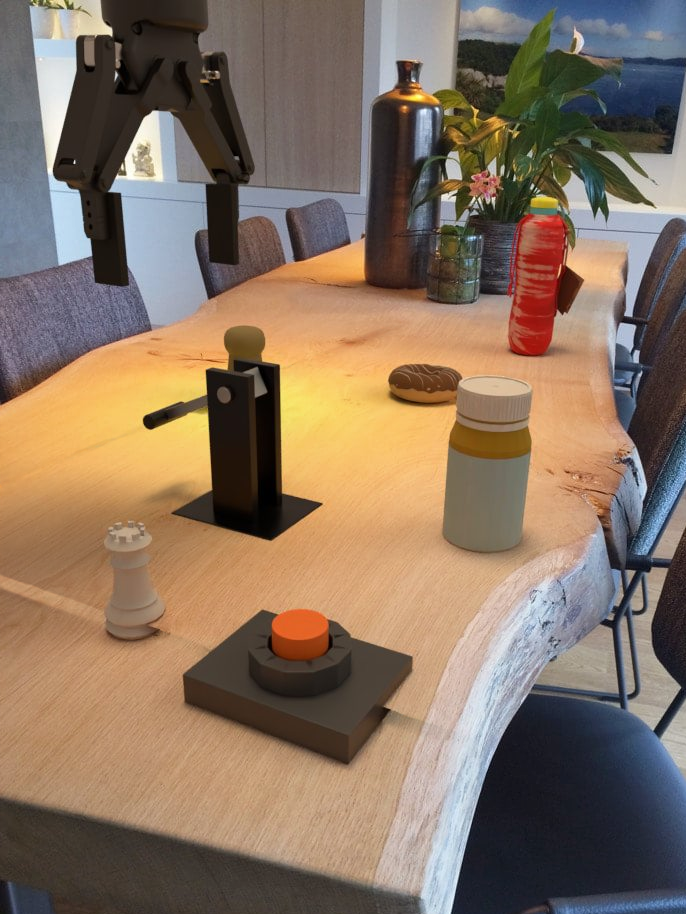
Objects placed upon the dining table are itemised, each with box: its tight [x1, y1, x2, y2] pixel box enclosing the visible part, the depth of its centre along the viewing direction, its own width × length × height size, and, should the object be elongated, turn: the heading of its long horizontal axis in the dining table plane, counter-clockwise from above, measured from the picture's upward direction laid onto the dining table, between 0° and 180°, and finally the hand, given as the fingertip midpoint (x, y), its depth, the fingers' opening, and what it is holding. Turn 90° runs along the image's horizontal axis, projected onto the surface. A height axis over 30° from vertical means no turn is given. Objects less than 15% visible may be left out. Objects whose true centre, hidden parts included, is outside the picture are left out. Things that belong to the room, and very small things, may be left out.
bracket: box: [170, 358, 324, 542], centre depth 75 cm, size 11×9×15 cm
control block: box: [182, 609, 414, 765], centre depth 54 cm, size 12×9×4 cm
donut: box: [387, 363, 463, 404], centre depth 116 cm, size 11×11×4 cm
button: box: [272, 608, 329, 661], centre depth 53 cm, size 4×4×2 cm
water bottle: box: [506, 196, 585, 356], centre depth 137 cm, size 12×8×25 cm, turn 91°
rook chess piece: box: [103, 520, 166, 641], centre depth 60 cm, size 4×4×8 cm
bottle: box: [441, 374, 534, 554], centre depth 72 cm, size 7×7×15 cm
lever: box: [142, 367, 267, 431], centre depth 75 cm, size 12×5×2 cm, turn 63°
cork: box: [223, 324, 266, 371], centre depth 106 cm, size 6×6×11 cm
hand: (172, 273), depth 67 cm, fingers open, 13 cm apart
